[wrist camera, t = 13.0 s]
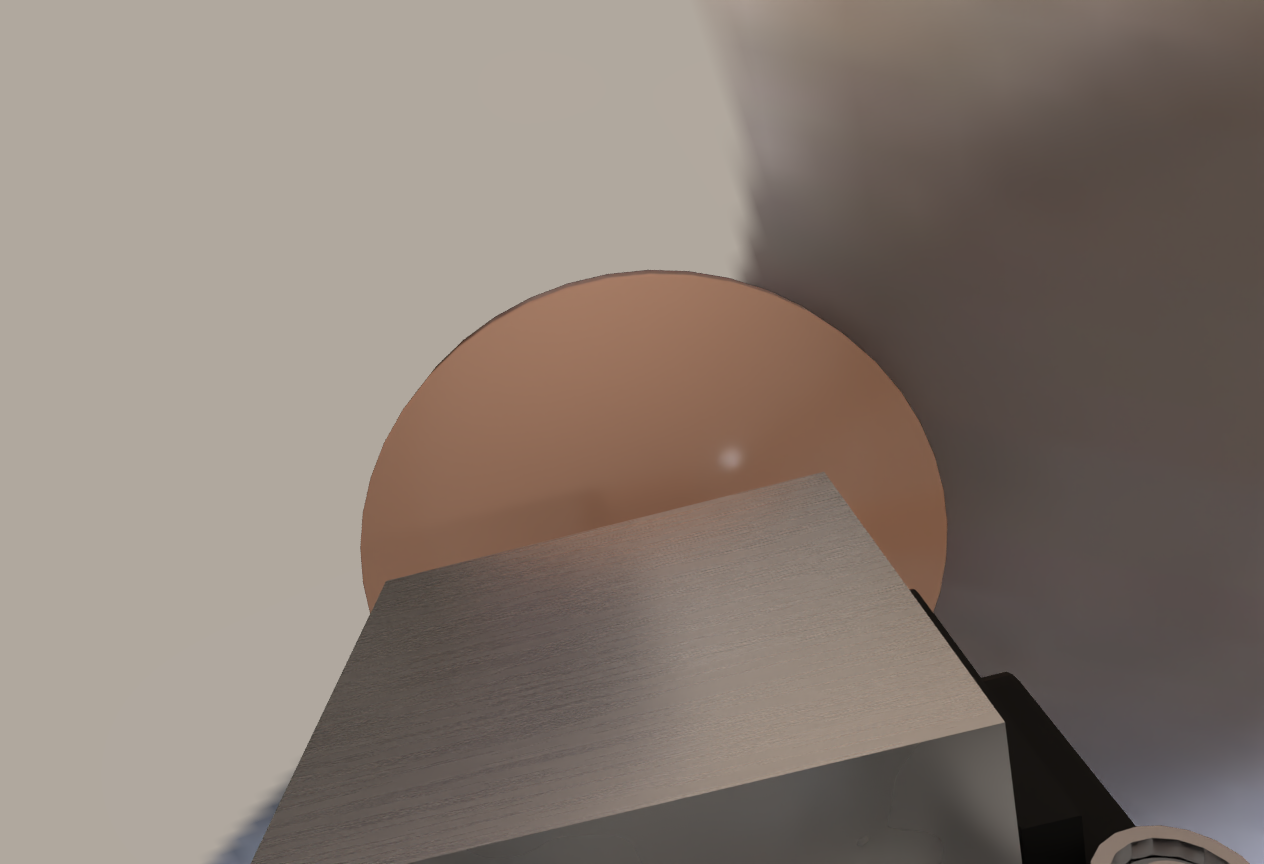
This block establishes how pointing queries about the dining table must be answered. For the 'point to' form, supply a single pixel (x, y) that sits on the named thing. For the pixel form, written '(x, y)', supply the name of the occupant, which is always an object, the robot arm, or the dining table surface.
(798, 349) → the coaster
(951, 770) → the slotted metal cube
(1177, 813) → the dining table surface
